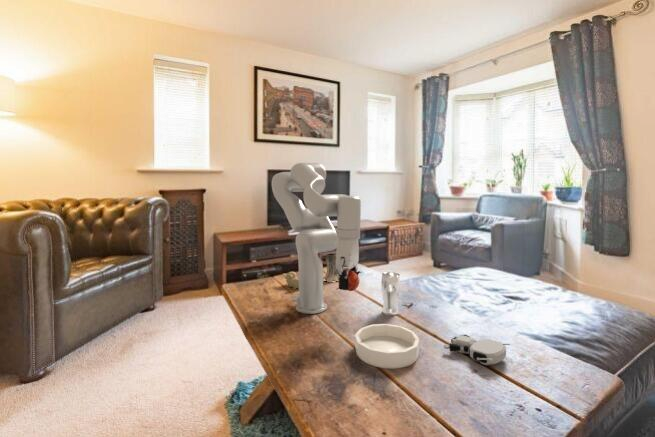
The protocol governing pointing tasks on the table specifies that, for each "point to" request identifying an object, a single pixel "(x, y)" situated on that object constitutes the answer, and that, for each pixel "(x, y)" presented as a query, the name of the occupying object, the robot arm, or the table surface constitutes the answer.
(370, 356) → the fruit bowl
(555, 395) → the table surface
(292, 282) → the cat figurine
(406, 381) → the table surface
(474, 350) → the robot toy
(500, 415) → the table surface
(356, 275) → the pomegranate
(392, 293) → the beer glass
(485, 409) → the table surface
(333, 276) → the tree stump
